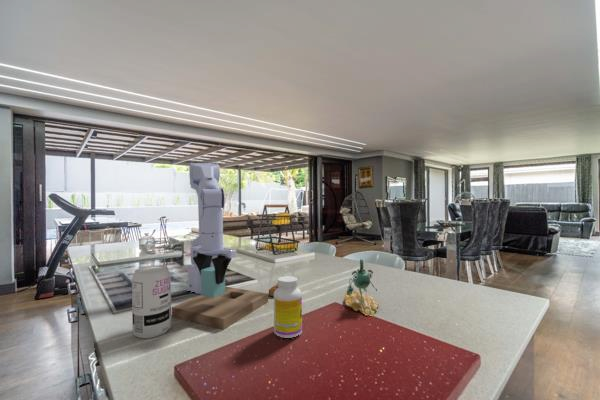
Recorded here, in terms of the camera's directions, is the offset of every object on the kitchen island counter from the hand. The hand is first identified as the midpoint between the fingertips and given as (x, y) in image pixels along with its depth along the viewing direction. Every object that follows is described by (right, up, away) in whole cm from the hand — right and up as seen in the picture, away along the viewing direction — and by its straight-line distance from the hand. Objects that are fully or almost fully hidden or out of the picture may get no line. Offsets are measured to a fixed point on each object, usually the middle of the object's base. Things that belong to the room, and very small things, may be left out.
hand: (212, 281), depth 78 cm
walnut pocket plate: (+2, -9, +4) cm, 10 cm away
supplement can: (-12, -9, -10) cm, 18 cm away
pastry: (+18, -9, +17) cm, 26 cm away
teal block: (0, -4, 0) cm, 4 cm away
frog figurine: (+42, -9, +6) cm, 43 cm away
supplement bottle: (+21, -9, -11) cm, 26 cm away
